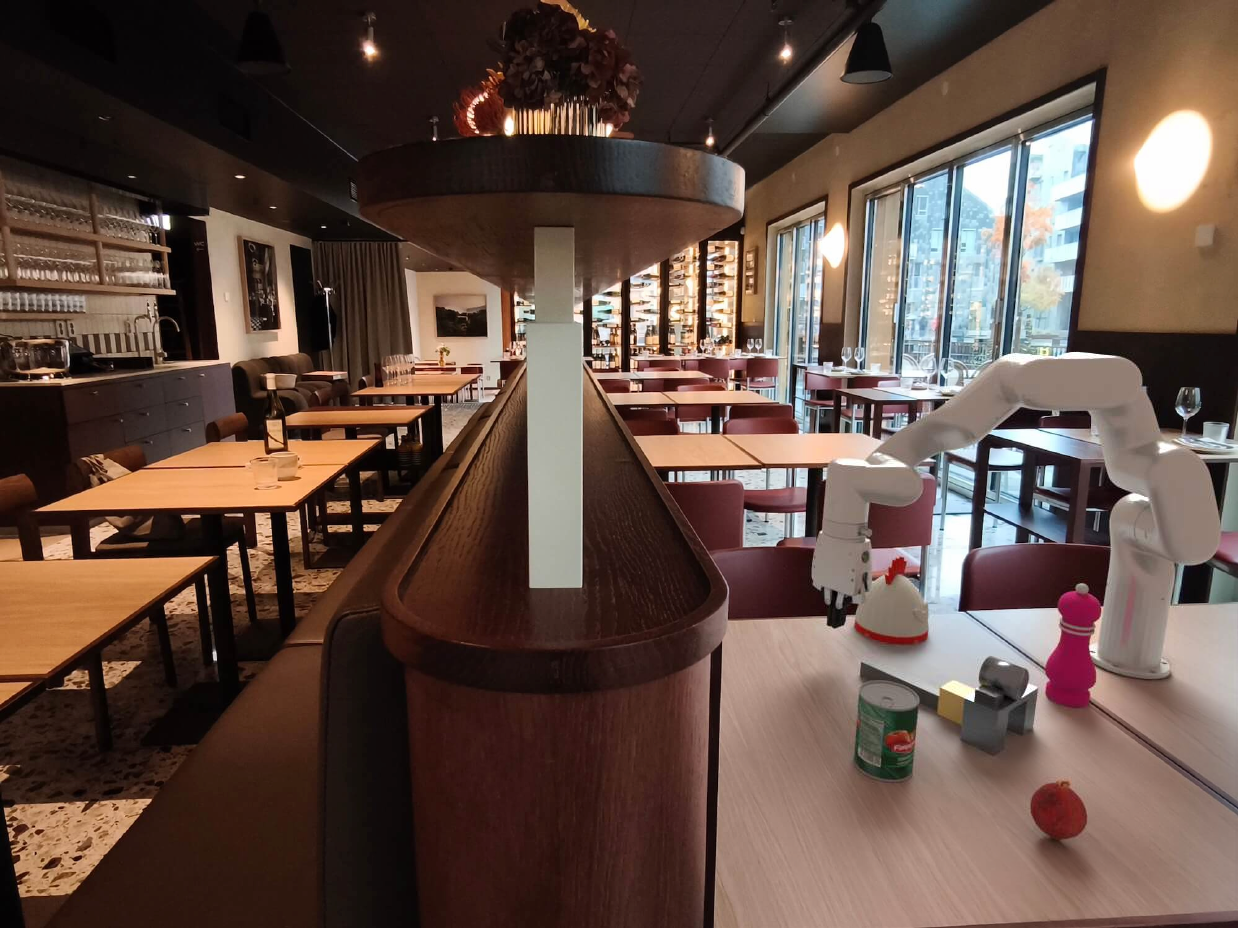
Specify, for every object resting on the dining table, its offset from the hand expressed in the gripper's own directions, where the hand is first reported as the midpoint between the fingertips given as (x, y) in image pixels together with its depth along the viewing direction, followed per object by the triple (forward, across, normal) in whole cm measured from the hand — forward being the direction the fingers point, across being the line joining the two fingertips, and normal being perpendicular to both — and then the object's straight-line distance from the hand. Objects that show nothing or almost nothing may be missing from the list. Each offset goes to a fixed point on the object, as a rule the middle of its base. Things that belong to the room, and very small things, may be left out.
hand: (835, 625), depth 133 cm
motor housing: (+6, -30, 0) cm, 31 cm away
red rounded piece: (+7, -45, +16) cm, 49 cm away
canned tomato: (+7, -24, +20) cm, 33 cm away
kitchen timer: (+7, +2, -20) cm, 22 cm away
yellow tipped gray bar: (+7, -16, -1) cm, 18 cm away
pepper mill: (+6, -31, -20) cm, 38 cm away
